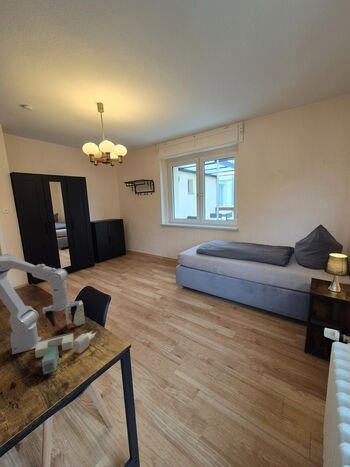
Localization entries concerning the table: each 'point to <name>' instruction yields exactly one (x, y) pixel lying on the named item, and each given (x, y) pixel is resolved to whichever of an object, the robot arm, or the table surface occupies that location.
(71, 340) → the block
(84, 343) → the power adapter
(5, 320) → the table surface
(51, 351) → the grey-green boxy piece
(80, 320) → the ink box
